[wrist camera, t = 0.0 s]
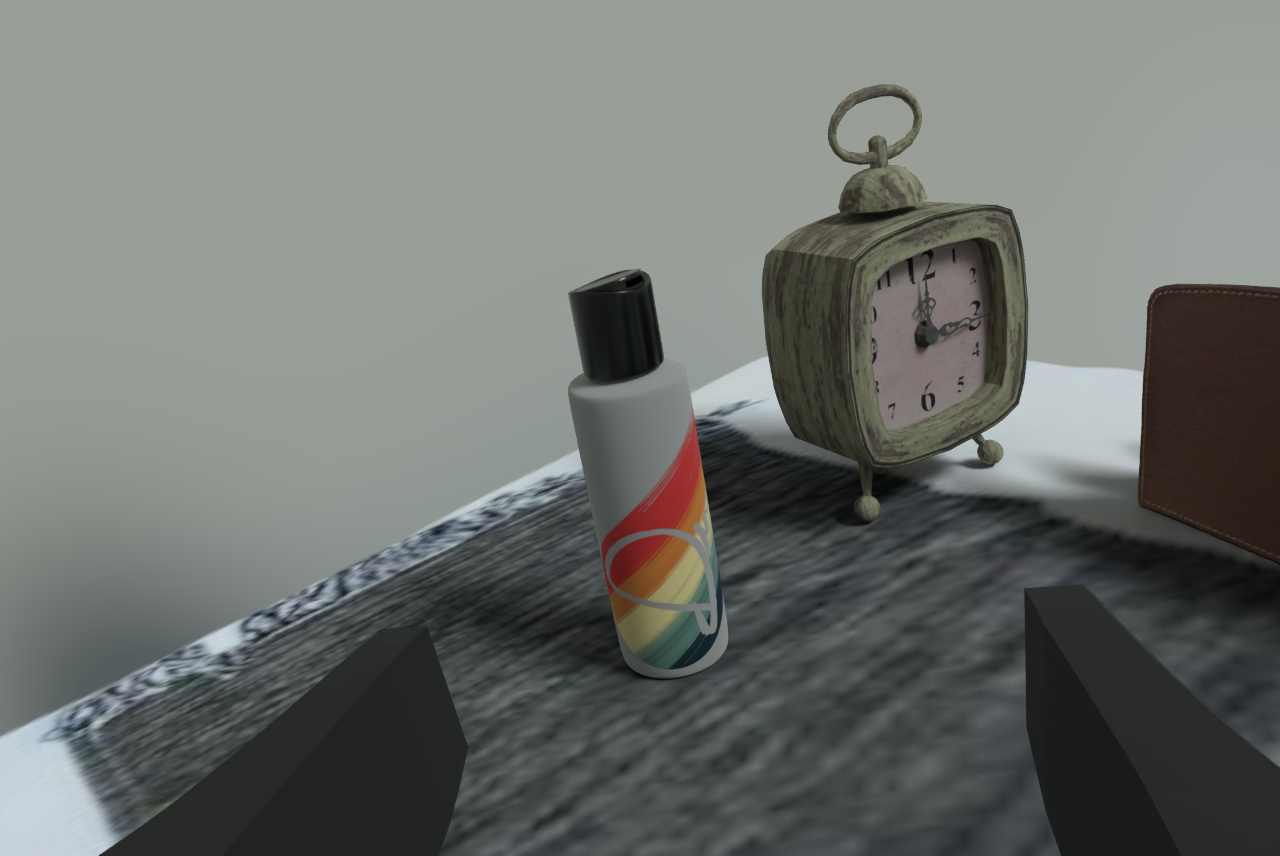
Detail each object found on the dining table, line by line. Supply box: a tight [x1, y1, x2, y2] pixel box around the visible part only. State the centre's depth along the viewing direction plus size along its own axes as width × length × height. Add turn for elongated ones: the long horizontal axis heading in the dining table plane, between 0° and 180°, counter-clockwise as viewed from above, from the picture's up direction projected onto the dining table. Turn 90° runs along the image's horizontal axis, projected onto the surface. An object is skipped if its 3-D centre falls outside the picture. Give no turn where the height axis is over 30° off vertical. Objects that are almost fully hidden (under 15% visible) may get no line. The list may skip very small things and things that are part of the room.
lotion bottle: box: [568, 269, 728, 678], centre depth 48 cm, size 6×6×20 cm
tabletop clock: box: [762, 85, 1028, 522], centre depth 61 cm, size 14×9×25 cm, turn 120°
